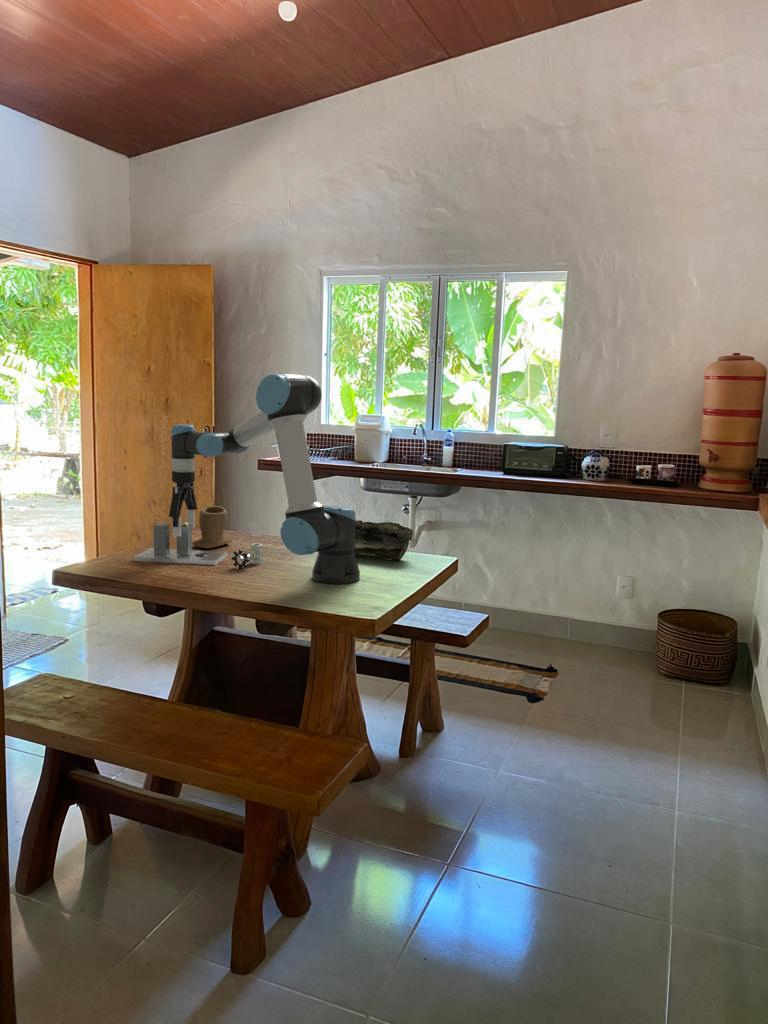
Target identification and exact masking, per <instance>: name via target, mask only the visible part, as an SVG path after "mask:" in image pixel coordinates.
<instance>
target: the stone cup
mask: <svg viewBox="0 0 768 1024" xmlns="http://www.w3.org/2000/svg"><path fill="white" fill-rule="evenodd" d="M198 519H199V520H198V525H199V529H200V533H201V538H200V539H199V538H198V539H197V540H194V541H192V546H193V547H197V548H200V549H201V548H202V549H213V548H217V547H221V546H224V545H227V544H230V543H232V542H233V540H232V538H231V537H229V536H228V535H227V534H226V533H224V532H225V528H226V524H227V522H228V511H227V510H226V508H224V507H223V506H220V505H219V506H218V505H210V506H206V507H204V508H202V509H200V511H199V516H198Z"/></svg>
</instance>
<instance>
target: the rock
mask: <svg viewBox="0 0 768 1024" xmlns="http://www.w3.org/2000/svg"><path fill="white" fill-rule="evenodd" d="M410 541H413V530H412V528H409V527H407V526H403V525H401V524H400V523H396V522H391V521H388V522H387V521H386V522H385V521H384V522H371V521H363V520H356V527H355V557H356V556H357V555H360V554H363V555H370V556H375V557H376V558H377V559H384V560H391V561H395V562H400V561H401V560H402V559H403V557H404V555H406V552H407V550H408V548H409V545H410Z"/></svg>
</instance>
